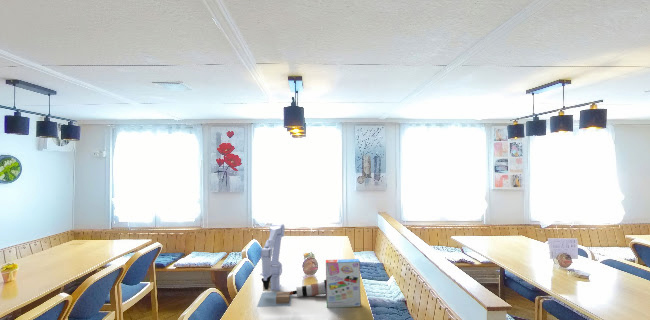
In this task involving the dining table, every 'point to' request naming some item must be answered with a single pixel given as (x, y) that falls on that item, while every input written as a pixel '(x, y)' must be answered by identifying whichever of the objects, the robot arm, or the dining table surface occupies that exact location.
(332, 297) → the game box
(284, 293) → the walnut base
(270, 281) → the maple cube
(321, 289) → the cable
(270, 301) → the mat
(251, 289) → the dining table surface
